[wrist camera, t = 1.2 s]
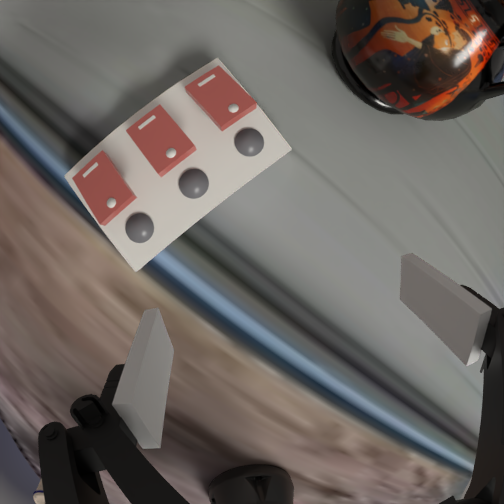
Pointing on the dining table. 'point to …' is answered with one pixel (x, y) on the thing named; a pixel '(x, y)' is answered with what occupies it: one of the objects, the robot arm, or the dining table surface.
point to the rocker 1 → (103, 188)
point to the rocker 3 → (221, 97)
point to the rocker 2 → (161, 140)
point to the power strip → (182, 171)
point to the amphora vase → (421, 54)
